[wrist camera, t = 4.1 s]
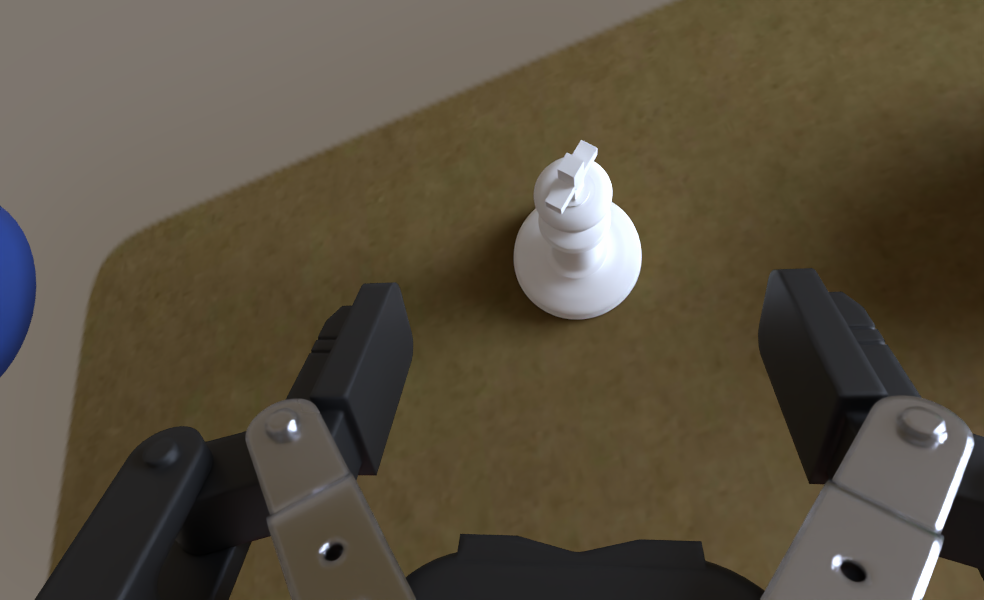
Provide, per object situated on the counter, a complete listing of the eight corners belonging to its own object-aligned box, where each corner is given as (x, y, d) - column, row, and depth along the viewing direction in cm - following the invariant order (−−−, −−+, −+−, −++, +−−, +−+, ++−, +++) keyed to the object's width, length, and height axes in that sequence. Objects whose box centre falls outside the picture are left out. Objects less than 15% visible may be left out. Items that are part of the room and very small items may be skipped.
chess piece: (665, 232, 22) (727, 118, 13) (600, 343, 22) (612, 314, 13) (553, 174, 23) (531, 28, 14) (490, 280, 23) (423, 208, 14)
